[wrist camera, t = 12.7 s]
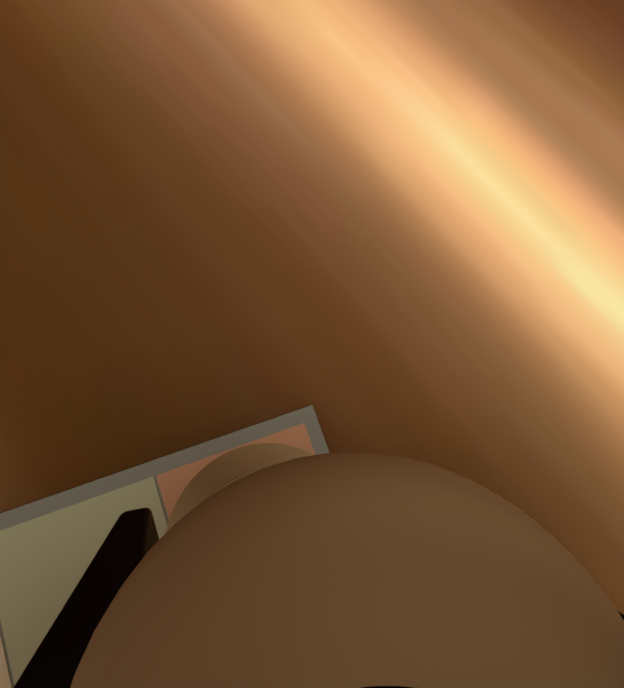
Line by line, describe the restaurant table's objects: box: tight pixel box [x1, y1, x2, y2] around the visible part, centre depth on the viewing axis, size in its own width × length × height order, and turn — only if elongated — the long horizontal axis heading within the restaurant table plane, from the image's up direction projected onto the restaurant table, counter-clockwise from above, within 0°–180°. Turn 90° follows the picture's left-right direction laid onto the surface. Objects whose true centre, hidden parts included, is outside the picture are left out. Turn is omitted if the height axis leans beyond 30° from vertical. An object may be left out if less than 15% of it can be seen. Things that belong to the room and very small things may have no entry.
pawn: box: [70, 443, 624, 688], centre depth 8 cm, size 5×5×13 cm
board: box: [0, 405, 329, 688], centre depth 17 cm, size 18×7×1 cm, turn 110°
